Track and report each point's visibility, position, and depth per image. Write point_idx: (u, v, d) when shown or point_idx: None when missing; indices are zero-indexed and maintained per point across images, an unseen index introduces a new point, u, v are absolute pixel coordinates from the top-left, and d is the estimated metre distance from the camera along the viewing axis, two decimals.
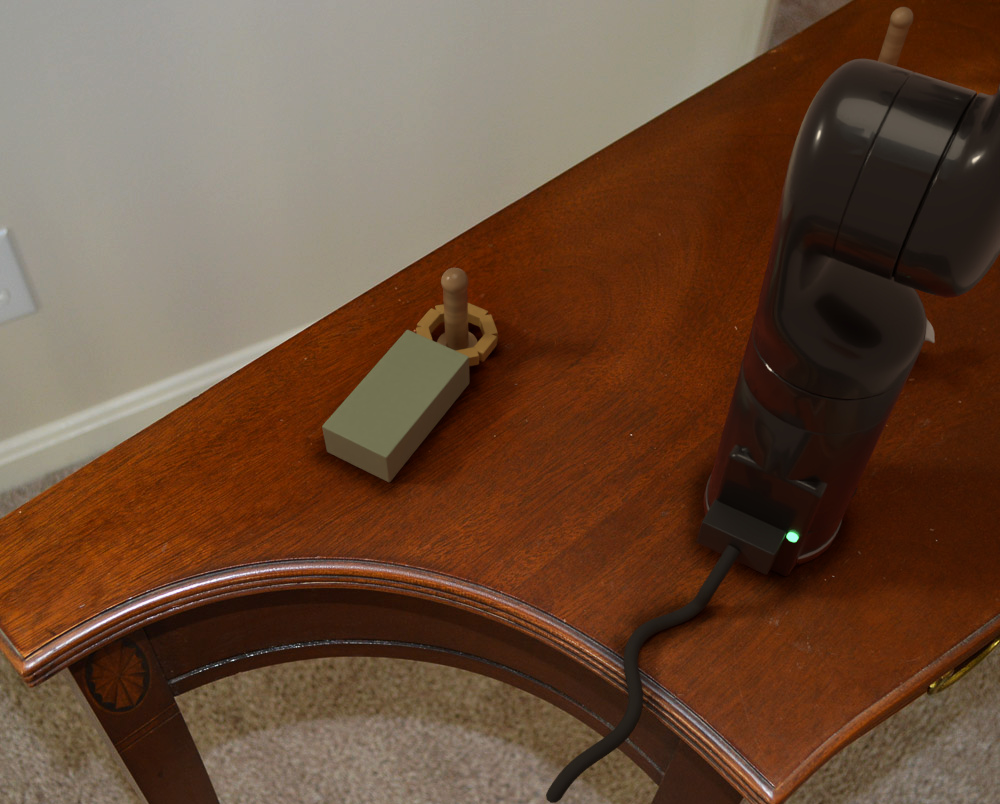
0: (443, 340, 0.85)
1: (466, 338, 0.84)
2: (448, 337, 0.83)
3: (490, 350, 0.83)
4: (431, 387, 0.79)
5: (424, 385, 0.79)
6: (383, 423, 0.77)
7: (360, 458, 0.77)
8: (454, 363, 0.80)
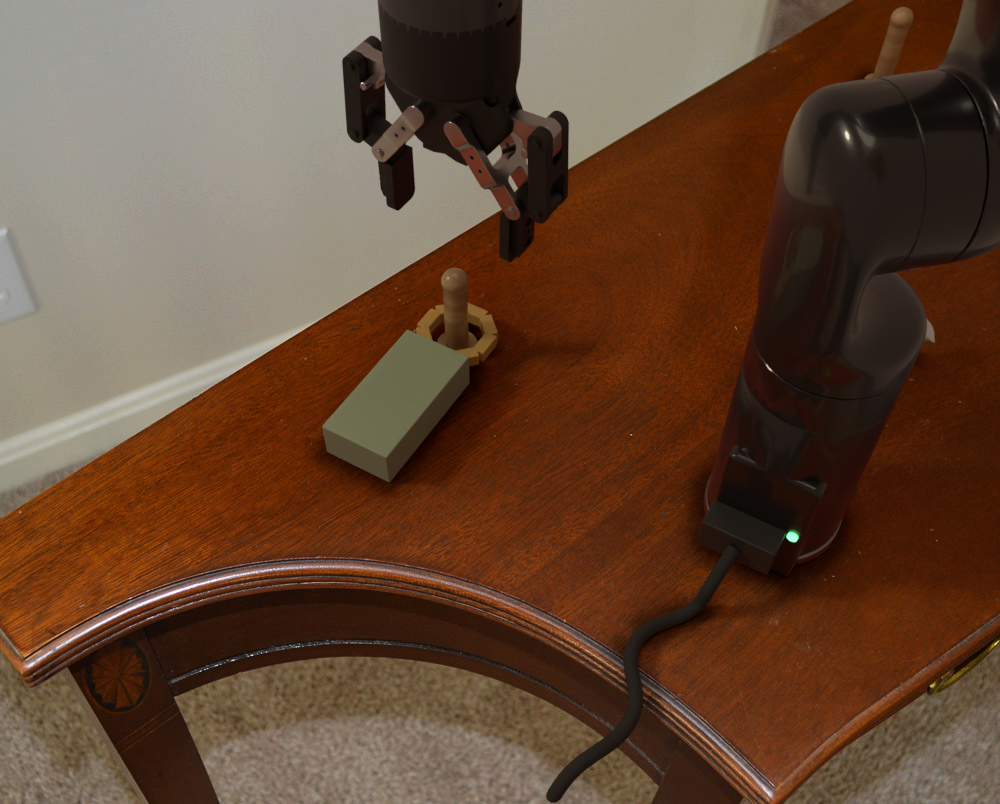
0: (443, 340, 0.85)
1: (466, 338, 0.84)
2: (448, 337, 0.83)
3: (490, 350, 0.83)
4: (431, 387, 0.79)
5: (424, 385, 0.79)
6: (383, 423, 0.77)
7: (360, 458, 0.77)
8: (454, 363, 0.80)
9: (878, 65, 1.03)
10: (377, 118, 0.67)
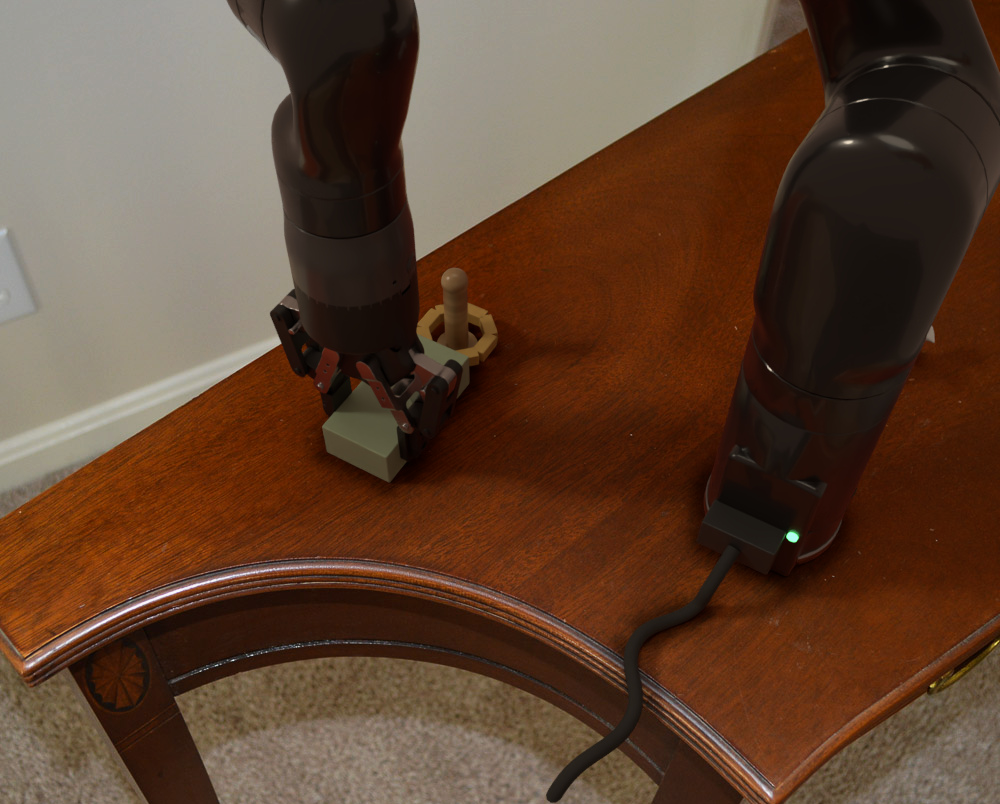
0: (443, 340, 0.85)
1: (466, 338, 0.84)
2: (448, 337, 0.83)
3: (490, 350, 0.83)
4: None
5: None
6: (383, 423, 0.77)
7: (360, 458, 0.77)
8: None
9: None
10: (317, 355, 0.76)
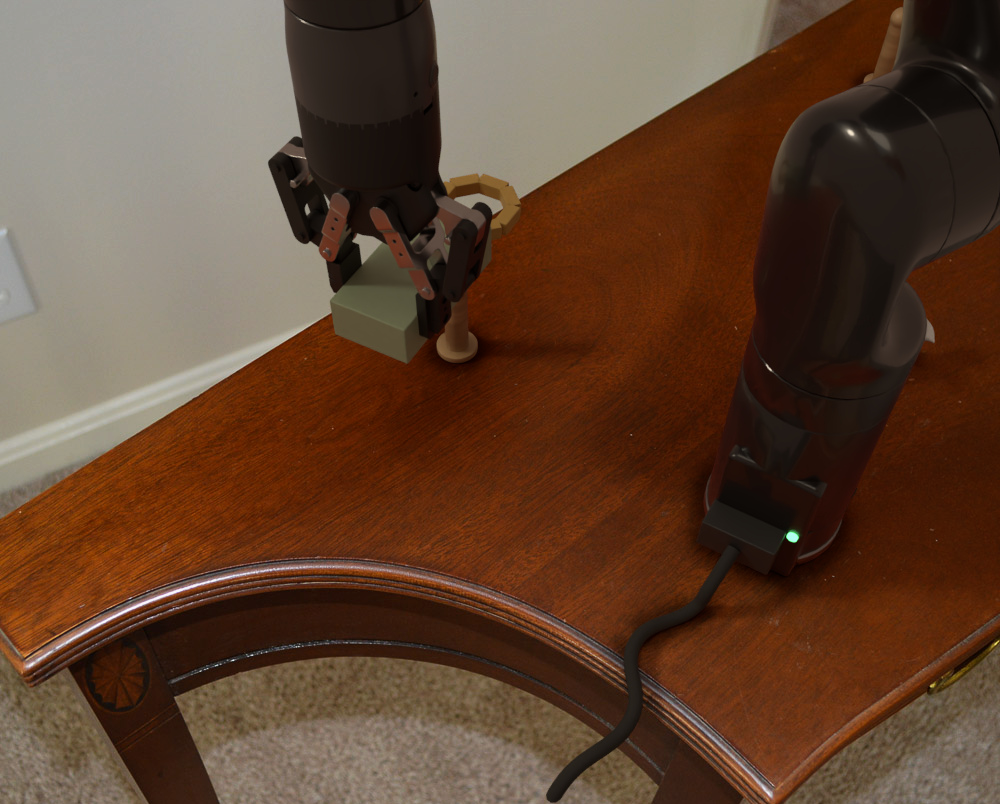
0: (443, 340, 0.85)
1: (466, 338, 0.84)
2: (448, 337, 0.83)
3: (513, 223, 0.74)
4: None
5: None
6: (399, 296, 0.68)
7: (374, 336, 0.68)
8: None
9: (878, 65, 1.03)
10: (322, 218, 0.67)
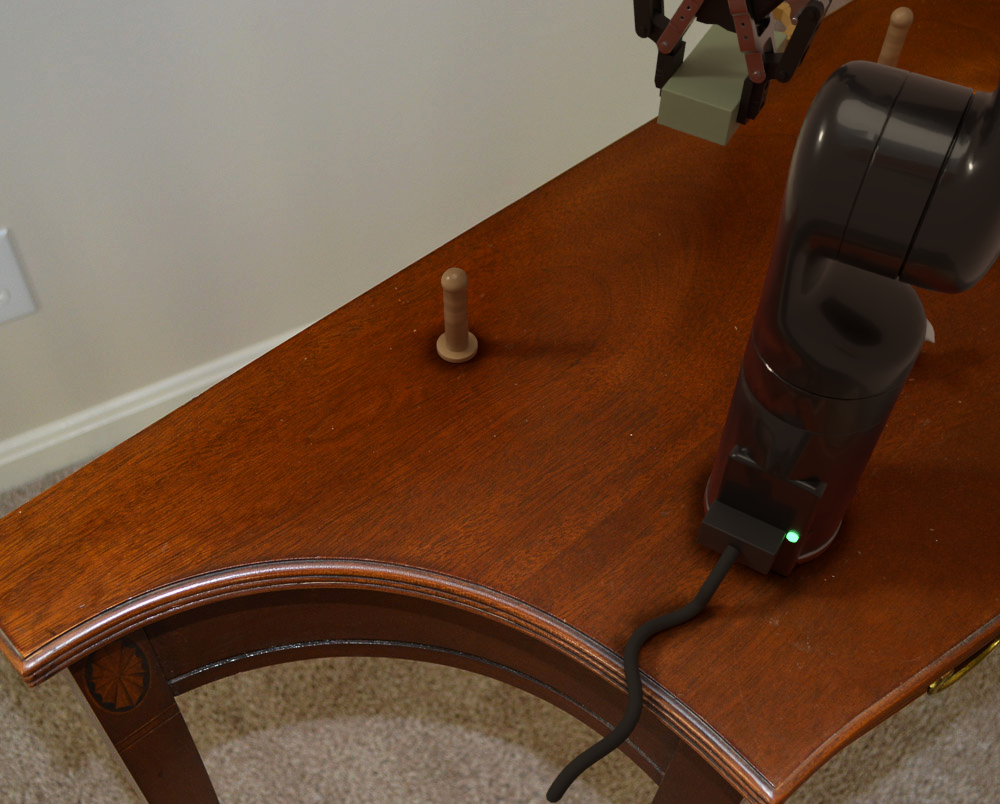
0: (443, 340, 0.85)
1: (466, 338, 0.84)
2: (448, 337, 0.83)
3: None
4: None
5: None
6: (721, 85, 0.79)
7: (698, 121, 0.79)
8: (775, 39, 0.82)
9: None
10: (660, 16, 0.78)
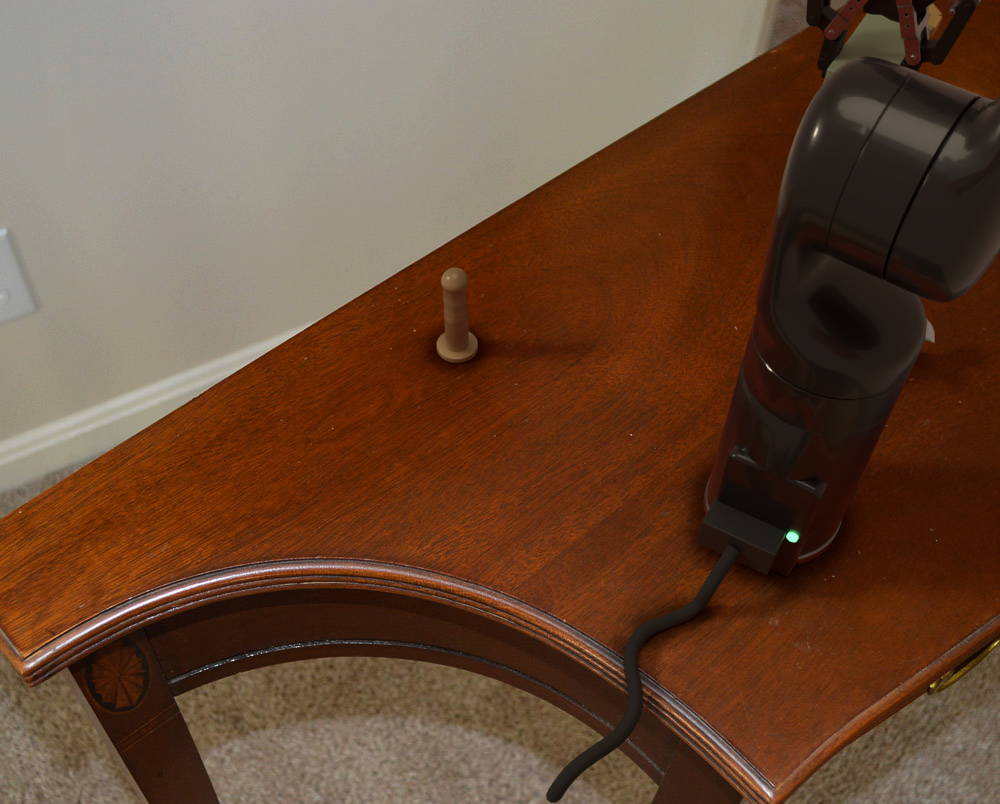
0: (443, 340, 0.85)
1: (466, 338, 0.84)
2: (448, 337, 0.83)
3: (937, 28, 0.99)
4: None
5: (901, 43, 0.94)
6: None
7: None
8: None
9: None
10: (827, 8, 0.91)
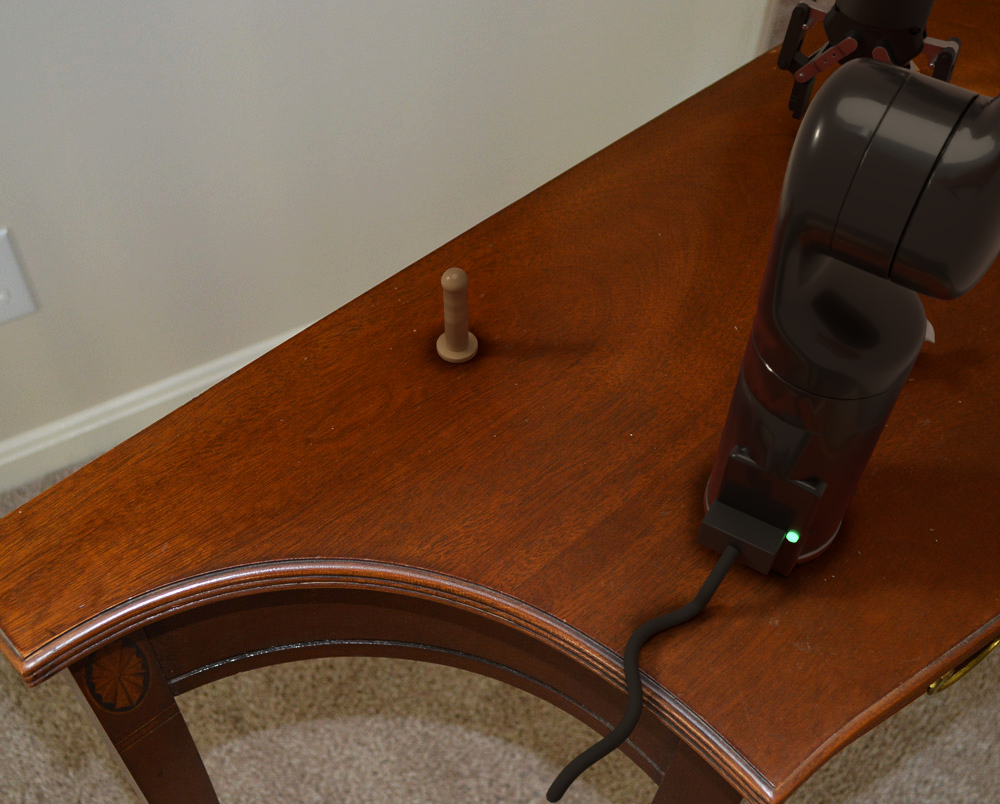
0: (443, 340, 0.85)
1: (466, 338, 0.84)
2: (448, 337, 0.83)
3: None
4: None
5: None
6: None
7: None
8: None
9: None
10: (797, 52, 0.95)
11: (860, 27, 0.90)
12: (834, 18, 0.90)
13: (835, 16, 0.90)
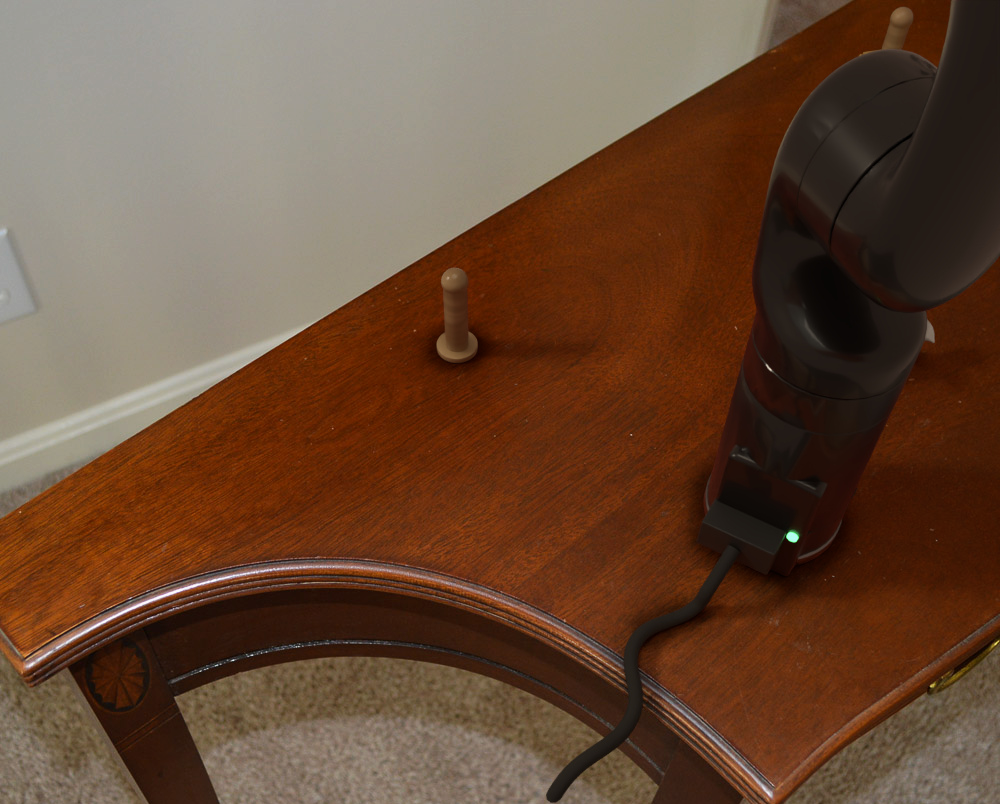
0: (443, 340, 0.85)
1: (466, 338, 0.84)
2: (448, 337, 0.83)
3: None
4: None
5: None
6: None
7: None
8: None
9: None
10: None
11: None
12: None
13: None
